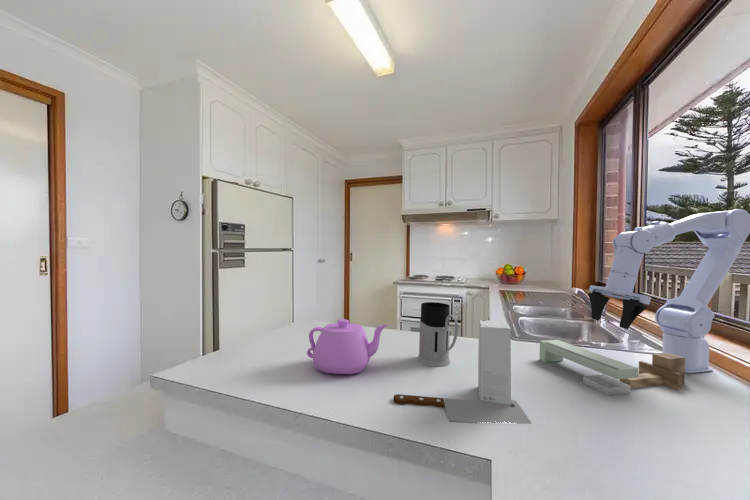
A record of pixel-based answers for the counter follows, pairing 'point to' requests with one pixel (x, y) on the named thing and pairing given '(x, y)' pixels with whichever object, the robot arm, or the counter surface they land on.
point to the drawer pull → (585, 359)
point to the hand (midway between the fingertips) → (608, 323)
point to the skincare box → (494, 362)
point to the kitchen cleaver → (470, 409)
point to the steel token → (606, 385)
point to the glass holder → (435, 334)
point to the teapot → (343, 347)
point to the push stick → (660, 372)
